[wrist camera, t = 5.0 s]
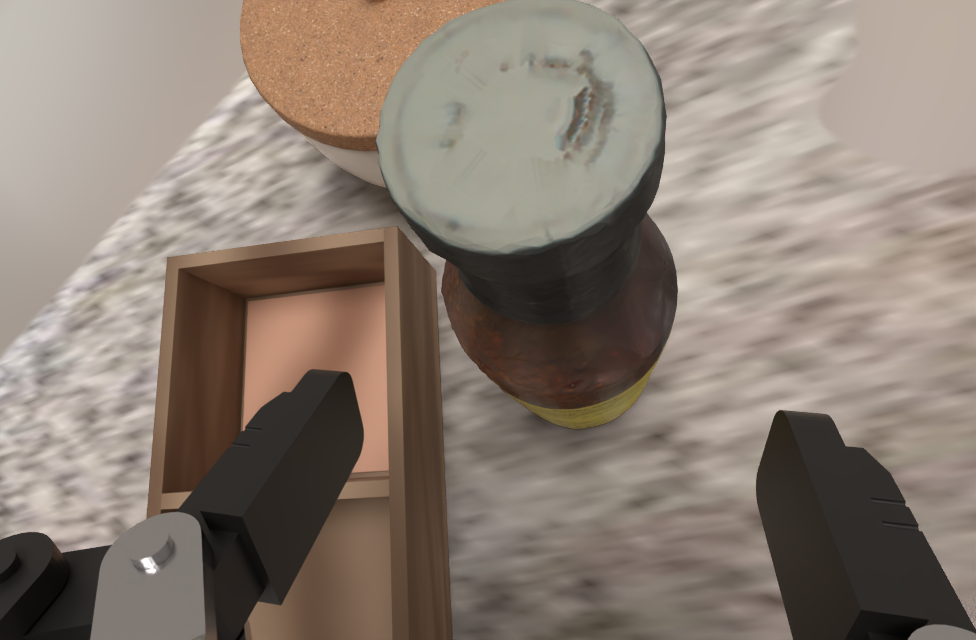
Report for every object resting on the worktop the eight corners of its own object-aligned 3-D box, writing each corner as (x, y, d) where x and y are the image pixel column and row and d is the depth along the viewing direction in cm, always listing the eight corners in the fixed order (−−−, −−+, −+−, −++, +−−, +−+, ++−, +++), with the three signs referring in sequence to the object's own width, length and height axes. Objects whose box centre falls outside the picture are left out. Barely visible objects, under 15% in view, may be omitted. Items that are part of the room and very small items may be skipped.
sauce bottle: (673, 361, 25) (936, 96, 6) (580, 459, 25) (562, 491, 6) (569, 271, 27) (530, -143, 8) (482, 361, 27) (230, 151, 8)
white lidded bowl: (315, 223, 30) (170, 103, 20) (355, 28, 33) (245, -170, 22) (541, 236, 28) (512, 106, 17) (565, 23, 30) (553, -202, 20)
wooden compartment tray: (435, 270, 28) (397, 226, 23) (456, 729, 23) (413, 821, 18) (240, 294, 30) (159, 258, 24) (221, 727, 25) (113, 810, 19)
